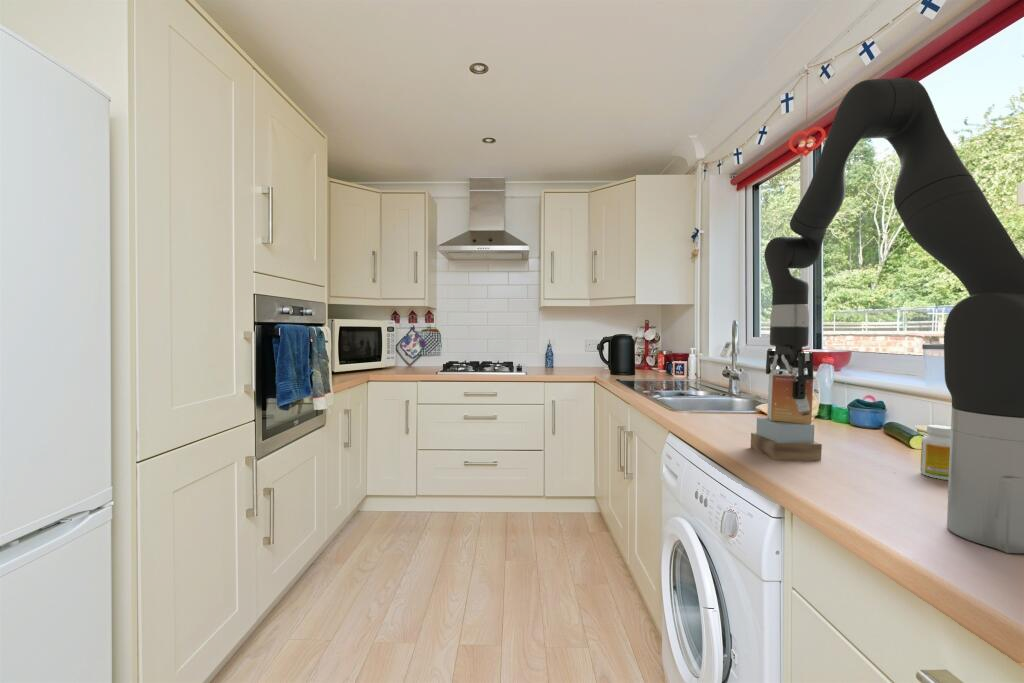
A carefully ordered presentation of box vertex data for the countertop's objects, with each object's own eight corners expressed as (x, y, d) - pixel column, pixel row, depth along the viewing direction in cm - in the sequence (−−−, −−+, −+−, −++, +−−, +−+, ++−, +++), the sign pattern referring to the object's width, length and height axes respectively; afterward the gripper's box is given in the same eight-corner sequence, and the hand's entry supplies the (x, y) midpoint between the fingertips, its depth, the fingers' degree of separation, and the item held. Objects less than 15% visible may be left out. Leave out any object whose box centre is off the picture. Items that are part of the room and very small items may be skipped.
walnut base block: (821, 462, 98) (821, 444, 97) (774, 461, 98) (775, 443, 97) (792, 450, 108) (793, 433, 107) (750, 449, 108) (751, 432, 107)
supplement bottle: (966, 482, 85) (968, 430, 84) (932, 479, 86) (934, 429, 85) (944, 473, 90) (946, 424, 90) (913, 471, 91) (915, 423, 91)
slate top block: (813, 443, 98) (814, 424, 98) (778, 443, 98) (779, 424, 98) (788, 434, 106) (789, 417, 106) (756, 434, 106) (756, 417, 106)
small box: (770, 421, 101) (771, 374, 101) (766, 417, 106) (768, 372, 106) (812, 424, 98) (813, 376, 98) (806, 420, 103) (808, 374, 103)
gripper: (827, 325, 95) (824, 401, 96) (787, 325, 109) (785, 392, 110) (790, 324, 95) (788, 400, 96) (756, 325, 110) (754, 391, 110)
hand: (787, 396), depth 103 cm, fingers open, 8 cm apart
